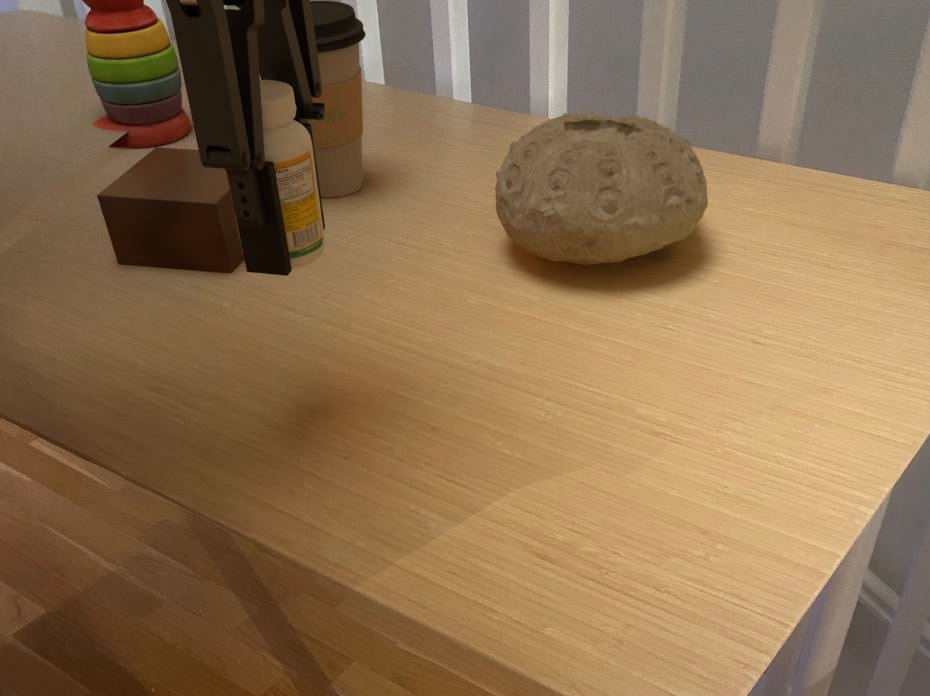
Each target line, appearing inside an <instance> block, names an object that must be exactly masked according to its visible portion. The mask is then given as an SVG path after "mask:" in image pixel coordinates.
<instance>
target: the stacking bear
mask: <svg viewBox="0 0 930 696" xmlns="http://www.w3.org/2000/svg"><path fill="white" fill-rule="evenodd" d="M81 1H82V2H83V3H84V4H85V5H86V6H87V7H88V8H89V9H90V10H89V11H88V12H87V13H86V16H85V19H84V26H85V31H84V39H85V48H86V55H85V56H86V64H87V69H88V73H89V75H90V76H91V77H90V79H91V82H92V84H93V87H94V89H95V92H96V95H97V96H98V97H99V100H100V103H101V105H102V108H103V109H104V111H105V113H106V115H104V116H102V117H100V118H98V119H96V120H95V121H94V122H93V123H92V126H93V127H94V128H96V129H101V130H105V131H106V130H107V131H117V132H125V133H124V134H123V135H121V136H120V137H119V138H118V139H116V140H115V141H113V142H112V143H111V144H109V145H108V148H117V149H118V148H119V149H135V148H148V147H157V146H161V145H166V144H169V143H173V142H175V141H178V140H180V139H182V138H183V137H185V136H187V134H189V133H190V131H191V129H192V122H191V120H190V117H189V116H188V114H187V112H186V111H185V109H184V108H183V107H182V105H183V96H182V95H183V93H182V85H183V83H182V72H181V71H182V70H181V68H180V67H181V66H180V65H179V63H180V62H179V58H178V56H177V55H178V54H177V53H176V50H175V47H174V44H173V43H172V42H171V38H170V35H169V32H168V30H167V28H166V26H165V24H164V22H163V20H162V19H161V18H160V17H158V15H157V14H156V12H155V11H154V10H153V9H152V8H151V7H150V6H148V5H146V4H145V0H81Z"/></svg>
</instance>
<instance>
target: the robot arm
mask: <svg viewBox="0 0 930 696" xmlns="http://www.w3.org/2000/svg"><path fill="white" fill-rule="evenodd" d="M310 1H311V0H165V2H166V3H165V4H166V5H167V8H168V11H169V13H170V17H171V22H172V27H173V32H174V37H175V42H176V47H177V51H178V56H179V61H180V62H179V63H180V67H181V71H182V72H181V73H182V76H183V77H182V78H183V81H184V86H185V91H186V96H187V101H188V106H189V110H190V115H191V121H192V125H193V131H194V135H195V140H196V145H197V150H199V155H200V160H201V163H202V165H203V166H204V167H207V168H220V169H225V170H226V172H227V177H228V181H229V186H230V191H231V196H232V201H233V206H234V211H235V216H236V221H237V226H238V231H239V235H240V240H241V245H242V250H243V255H244V259H243V260H244V265H245V270H246V273H254V274H264V275H275V276H285V277H288V276H289V275H290V273H291V272H292V271H293V269H292V268H291V262H290V256H289V250H288V244H287V239H286V233H285V227H284V221H283V215H282V209H281V203H280V197H279V191H278V185H277V179H276V173H275V167H274V162H269V161H265V153H264V138H263V122H262V107H261V92H260V80H274V81H280V82H284V83H287V84H289V85H290V86H291V87H292V88H293V92H294V99H295V104H296V115H295V117H294V119H293V120H295V121H297V122H299V123H300V124H302V125H303V126H304V127H305V128H306V129H307V131H308V132H309V134H310V137H311V141H312V147H313V154H314V162H315V170H316V178H317V186H318V193H319V200H320V208H321V216H322V223H323V230H324V231H325V229H326V223H325V217H324V210H323V209H324V208H323V201H322V197H321V193H320V186H319V179H318V172H317V165H316V157H315V150H314V143H313V136H312V129H311V124H309V123H308V119H311V120H323V119H324V116H325V104H324V103H314V102H313V101H312V98H320V96H321V94H322V82H321V75H320V68H319V61H318V54H317V47H316V39H315V32H314V25H313V18H312V11H311V4H310ZM225 6H226V7H227V6H230V7H236V8H238V9H235V8H226V7H225ZM305 72H306V73H305Z"/></svg>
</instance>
